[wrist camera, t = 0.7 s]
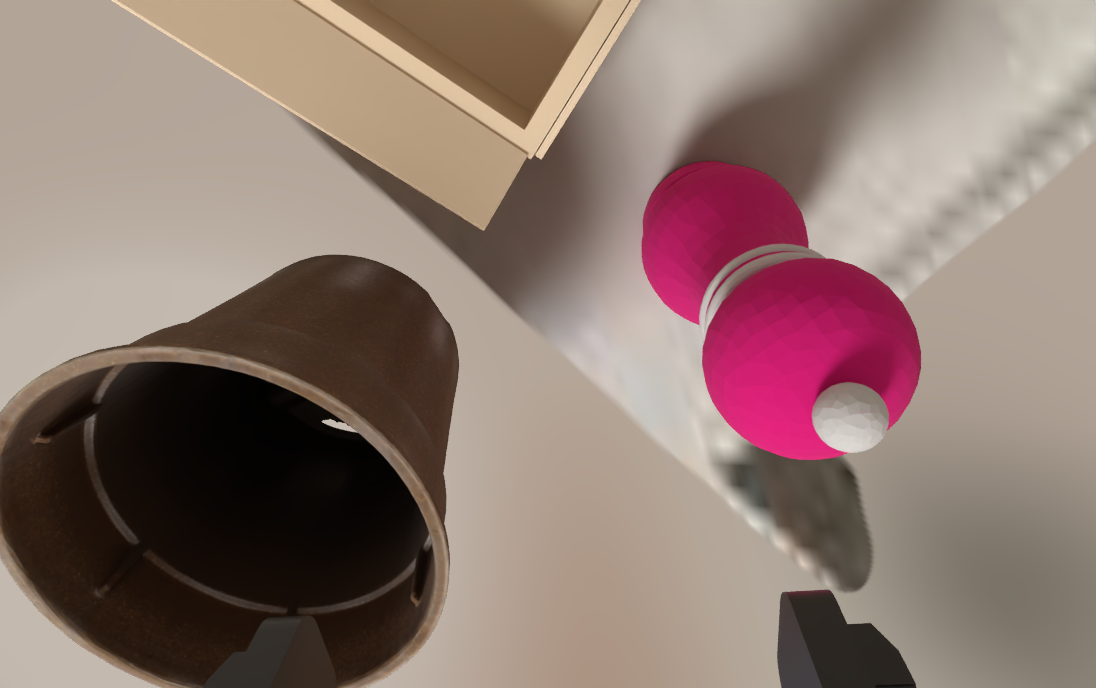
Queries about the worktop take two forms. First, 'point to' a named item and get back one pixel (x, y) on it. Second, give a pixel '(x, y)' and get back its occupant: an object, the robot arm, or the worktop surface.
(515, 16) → the carton
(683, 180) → the pepper mill
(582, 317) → the worktop surface
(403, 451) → the plant pot
